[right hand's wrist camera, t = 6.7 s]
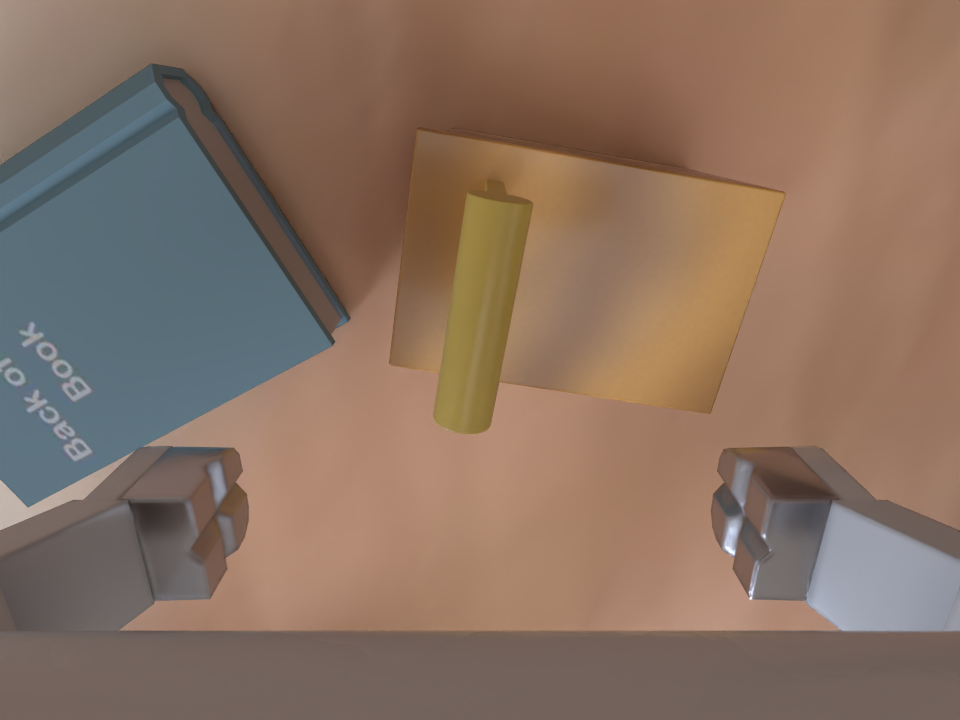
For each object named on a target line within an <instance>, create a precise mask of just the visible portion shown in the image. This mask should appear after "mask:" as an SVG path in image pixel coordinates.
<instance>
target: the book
mask: <svg viewBox="0 0 960 720" xmlns="http://www.w3.org/2000/svg"><path fill="white" fill-rule="evenodd" d="M349 320H350V316H349V315H348V313H347V312H346V310H345V309H344V307H343V306H342V304H341V303H340V301H339V300H338V298H337V296H336V295H335V293H334V292H333V290H332V289H331V287H330V286H329V284H328V283H327V281H326V279H325V278H324V276H323V275H322V273H321V272H320V270H319V269H318V267H317V266H316V264H315V262H314V261H313V259H312V258H311V256H310V255H309V253H308V252H307V250H306V249H305V247H304V246H303V244H302V242H301V241H300V239H299V238H298V236H297V235H296V233H295V232H294V230H293V229H292V227H291V225H290V224H289V222H288V221H287V219H286V218H285V216H284V215H283V213H282V212H281V210H280V209H279V207H278V205H277V204H276V202H275V201H274V199H273V198H272V196H271V195H270V193H269V192H268V190H267V188H266V187H265V185H264V184H263V182H262V181H261V179H260V178H259V176H258V175H257V173H256V172H255V170H254V168H253V167H252V165H251V164H250V162H249V161H248V159H247V158H246V156H245V155H244V153H243V151H242V150H241V148H240V147H239V145H238V144H237V142H236V141H235V139H234V138H233V136H232V134H231V133H230V131H229V130H228V128H227V127H226V125H225V124H224V122H223V121H222V119H221V118H220V117H219V116H218V115H217V114H216V113H215V112H214V111H213V109H212V105H211V102H210V101H209V99H208V97H207V96H206V94H205V93H204V91H203V90H202V88H201V87H200V86H199V85H198V84H197V83H196V82H195V81H194V80H193V79H192V78H191V77H190V76H189V75H188V74H187V73H186V72H185V71H184V70H183V69H180V68H174V67H168V66H162V65H157V64H150V65H148V66H147V67H146V68H144V69H143V70H141V71H140V72H138V73H137V74H135V75H134V76H132V77H131V78H129V79H128V80H126V81H125V82H123V83H122V84H120V85H119V86H117V87H116V88H114V89H113V90H111V91H110V92H108V93H107V94H105V95H104V96H102V97H101V98H99V99H98V100H96V101H95V102H94V103H92V104H91V105H89V106H88V107H86V108H85V109H83V110H82V111H80V112H79V113H77V114H76V115H74V116H73V117H71V118H70V119H68V120H67V121H65V122H64V123H62V124H61V125H59V126H58V127H56V128H55V129H53V130H52V131H50V132H49V133H47V134H46V135H45V136H43V137H42V138H40V139H39V140H37V141H36V142H34V143H33V144H31V145H30V146H28V147H27V148H25V149H24V150H22V151H21V152H19V153H18V154H16V155H15V156H13V157H12V158H10V159H9V160H7V161H6V162H4V163H3V164H1V165H0V479H1V480H2V481H3V482H4V484H5V485H6V486H7V487H8V488H9V489H10V490H11V491H12V492H13V493H14V494H15V495H16V496H17V497H18V498H19V499H20V500H21V501H22V502H23V503H24V504H25V505H26V506H27V507H30V506H32V505H34V504H35V503H37V502H39V501H41V500H43V499H45V498H47V497H49V496H50V495H52V494H54V493H56V492H58V491H60V490H62V489H64V488H66V487H67V486H69V485H71V484H73V483H75V482H77V481H79V480H81V479H82V478H84V477H86V476H88V475H90V474H92V473H94V472H96V471H98V470H99V469H101V468H103V467H105V466H107V465H109V464H111V463H113V462H115V461H116V460H118V459H120V458H122V457H124V456H126V455H128V454H130V453H131V452H133V451H135V450H137V449H138V448H141V447H143V446H145V445H147V444H148V443H150V442H152V441H154V440H156V439H158V438H160V437H162V436H164V435H165V434H167V433H169V432H171V431H173V430H175V429H177V428H179V427H180V426H182V425H184V424H186V423H188V422H190V421H192V420H194V419H196V418H197V417H199V416H201V415H203V414H205V413H207V412H209V411H211V410H212V409H214V408H216V407H218V406H220V405H222V404H224V403H226V402H228V401H229V400H231V399H233V398H235V397H237V396H239V395H241V394H243V393H245V392H246V391H248V390H250V389H252V388H254V387H256V386H258V385H260V384H261V383H263V382H265V381H267V380H269V379H271V378H273V377H275V376H277V375H278V374H280V373H282V372H284V371H286V370H288V369H290V368H292V367H294V366H295V365H297V364H299V363H301V362H303V361H305V360H307V359H309V358H310V357H312V356H314V355H316V354H318V353H320V352H322V351H324V350H326V349H327V348H329V347H331V346H333V344H334V343H335V340H334V339H333V337H332V336H331V334H332V332H333V331H334V329H336V328H337V327H339V326H341V325H343V324H345V323H347V322H348V321H349Z"/></svg>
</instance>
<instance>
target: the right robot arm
mask: <svg viewBox="0 0 960 720" xmlns="http://www.w3.org/2000/svg"><path fill="white" fill-rule="evenodd" d="M242 472H243V470H242V465H241V460H240V455H239V453H238V452H237V451H236V450H235V449H234V448H218V447H172V446H156V447H141V448H138V449H137V450H136V451H135V452H134V453H133V454H132V455H130V456H129V457H128V458H127V459H126V460H125V461H124V462H123V463H122V464H121V465H120V466H119V467H118V468H117V469H116V470H115V471H113V472H112V473H111V474H110V475H109V476H108V477H107V478H106V479H105V480H104V481H103V482H102V483H101V484H100V485H99V486H98V487H96V488H95V489H94V490H93V491H92V492H91V493H90V494H89V495H88V496H87V497H86V498H85V499H84V500H72V501H70V502H67V503H65V504H63V505H60V506H58V507H55V508H53V509H51V510H48V511H46V512H43V513H41V514H39V515H36V516H34V517H31V518H29V519H27V520H24V521H22V522H20V523H17V524H15V525H12V526H10V527H8V528H5V529H3V530H0V720H960V531H959V530H957V529H955V528H952V527H950V526H947V525H945V524H943V523H940V522H938V521H936V520H933V519H931V518H928V517H926V516H924V515H921V514H919V513H917V512H914V511H912V510H909V509H907V508H905V507H902V506H900V505H897V504H895V503H893V502H890V501H888V500H876V499H875V498H874V497H873V496H872V495H871V494H870V493H869V492H868V491H867V490H866V489H865V488H864V487H863V486H862V485H860V484H859V483H858V482H857V481H856V480H855V479H854V478H853V477H852V476H851V475H850V474H849V473H848V472H847V471H846V470H845V469H844V468H842V467H841V466H840V465H839V464H838V463H837V462H836V461H835V460H834V459H833V458H832V457H831V456H830V455H829V454H828V453H827V452H825V451H824V450H823V449H822V448H819V447H816V446H801V447H759V448H729V449H724V450H723V452H722V454H721V456H720V459H719V464H718V469H717V472H718V473H719V475H720V476H721V478H722V479H723V481H724V483H723V484H722V485H721V486H720V488H719V489H718V490H717V491H716V492H715V493H714V494H713V500H712V507H711V517H712V527H713V531H714V534H715V537H716V540H717V542H718V544H719V545H720V547H721V549H722V550H723V551H725V552H726V553H728V554H729V555H731V556H732V557H734V558H735V559H734V564H733V570H734V572H735V574H736V576H737V577H738V579H739V581H740V583H741V584H742V586H743V588H744V589H745V591H746V593H747V595H748V596H749V598H750V599H761V600H798V601H806V604H807V605H809V606H810V607H811V608H813V609H814V610H815V611H817V612H818V613H819V614H821V615H822V616H823V617H825V618H826V619H827V620H828V621H830V622H831V623H832V624H834V625H835V626H836V627H838V628H839V629H840V630H842V631H119V630H120V629H121V628H123V627H124V626H125V625H126V624H128V623H129V622H130V621H132V620H133V619H134V618H136V617H137V616H138V615H140V614H141V613H142V612H144V611H145V610H146V609H148V608H149V607H150V606H151V605H153V604H154V601H162V600H198V599H210V598H211V597H212V595H213V593H214V591H215V590H216V588H217V586H218V584H219V583H220V581H221V579H222V577H223V576H224V574H225V572H226V570H227V564H226V559H225V558H226V557H228V556H229V555H231V554H232V553H234V552H235V551H237V550H238V549H239V547H240V545H241V543H242V542H243V540H244V538H245V534H246V530H247V525H248V521H249V505H248V499H247V494H246V493H245V492H244V491H243V490H242V489H241V488H240V486H239V485H238V484H237V483H236V481H237V479H238V478H239V476H240V475H241V473H242Z"/></svg>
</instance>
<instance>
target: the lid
mask: <svg viewBox="0 0 960 720" xmlns="http://www.w3.org/2000/svg"><path fill="white" fill-rule="evenodd" d="M785 195H786V193H785V192H782V191H778V190H774V189H769V188H763V187H757V186H752V185H746V184H740V183H734V182H729V181H723V180H717V179H712V178H706V177H700V176H695V175H689V174H683V173H677V172H672V171H666V170H660V169H655V168H649V167H643V166H638V165H632V164H626V163H621V162H615V161H609V160H603V159H598V158H592V157H586V156H581V155H575V154H569V153H564V152H558V151H552V150H547V149H541V148H535V147H529V146H524V145H518V144H512V143H507V142H501V141H495V140H490V139H484V138H478V137H472V136H467V135H461V134H455V133H450V132H444V131H438V130H433V129H427V128H417V130H416V137H415V146H414V154H413V163H412V172H411V180H410V189H409V197H408V206H407V214H406V223H405V232H404V240H403V249H402V257H401V266H400V274H399V283H398V292H397V300H396V309H395V317H394V326H393V334H392V343H391V351H390V360H389V364H390V365H391V366H397V367H404V368H410V369H417V370H424V371H430V372H437V373H440V374H439V380H438V387H437V394H436V400H435V407H434V413H433V417H434V420H435V421H436V423H437V424H438V425H440V426H441V427H443V428H445V429H447V430H449V431H452V432H456V433H462V434H477V433H481V432H484V431H486V430H487V429H488V428H489V427H490V425H491V421H492V416H493V411H494V406H495V400H496V395H497V390H498V385H499V382H503V383H509V384H516V385H522V386H529V387H536V388H542V389H549V390H555V391H562V392H569V393H575V394H582V395H588V396H595V397H602V398H608V399H615V400H621V401H628V402H635V403H641V404H648V405H654V406H661V407H667V408H674V409H681V410H687V411H694V412H700V413H707V414H710V413H711V410H712V407H713V405H714V402H715V399H716V396H717V393H718V390H719V387H720V384H721V381H722V378H723V375H724V373H725V370H726V367H727V364H728V361H729V358H730V355H731V352H732V349H733V346H734V343H735V341H736V338H737V335H738V332H739V329H740V326H741V323H742V320H743V317H744V314H745V311H746V309H747V306H748V303H749V300H750V297H751V294H752V291H753V288H754V285H755V282H756V279H757V277H758V274H759V271H760V268H761V265H762V262H763V259H764V256H765V253H766V250H767V247H768V245H769V242H770V239H771V236H772V233H773V230H774V227H775V224H776V221H777V218H778V215H779V213H780V210H781V207H782V204H783V201H784V198H785Z"/></svg>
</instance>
